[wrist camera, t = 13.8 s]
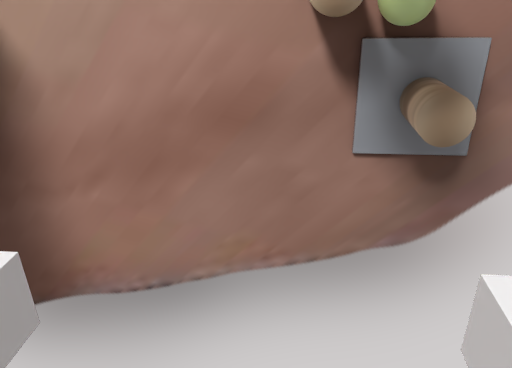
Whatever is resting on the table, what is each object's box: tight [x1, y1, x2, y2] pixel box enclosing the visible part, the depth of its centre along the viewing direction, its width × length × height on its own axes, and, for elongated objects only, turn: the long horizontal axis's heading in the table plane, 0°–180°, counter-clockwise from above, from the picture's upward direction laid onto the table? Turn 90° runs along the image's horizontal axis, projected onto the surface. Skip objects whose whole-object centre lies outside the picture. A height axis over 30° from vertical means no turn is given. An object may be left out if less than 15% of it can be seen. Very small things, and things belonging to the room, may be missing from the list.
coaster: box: [352, 37, 492, 156], centre depth 40 cm, size 11×11×1 cm
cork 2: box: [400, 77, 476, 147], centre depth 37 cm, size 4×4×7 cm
